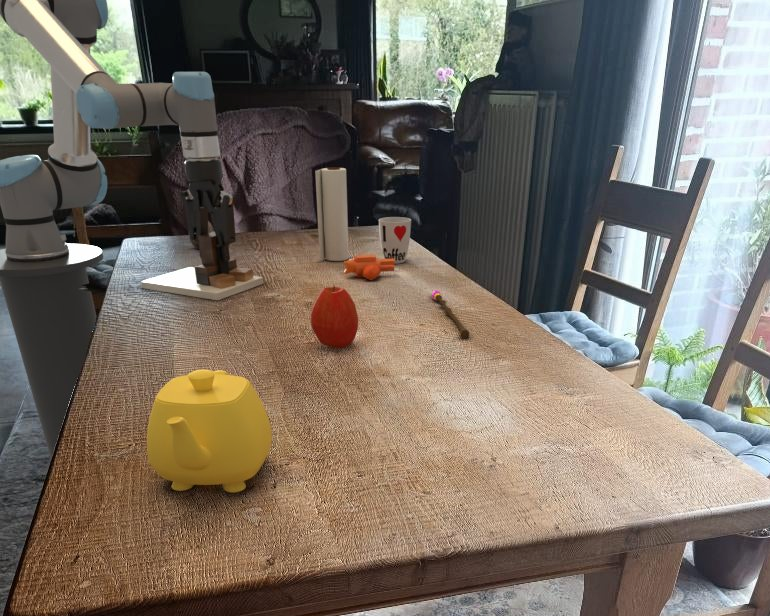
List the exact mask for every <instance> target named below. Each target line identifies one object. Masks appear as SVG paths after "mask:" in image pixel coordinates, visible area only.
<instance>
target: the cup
mask: <svg viewBox="0 0 770 616" xmlns="http://www.w3.org/2000/svg"><path fill="white" fill-rule="evenodd" d="M378 228H379V229H378V233H379V241H380V248H381V252H382V256H383V259H393V258H394V260H395V265H396V264H403V263H405V262H406V258H407V256H408V252H409V245H410V241H411V228H412V219H411V218H410V217H402V216H401V217H400V216H388V217H386V216H385V217H381V218H379V219H378Z"/></svg>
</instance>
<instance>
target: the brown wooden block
mask: <svg viewBox="0 0 770 616" xmlns="http://www.w3.org/2000/svg"><path fill="white" fill-rule="evenodd" d="M209 282H210V286H213V287H216V288H220V289H222V288H226V287H230V286H235V285H236V284H235V276H232V275H228V274H224V273H223V274H218V275H214V276H209Z"/></svg>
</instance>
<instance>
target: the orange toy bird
mask: <svg viewBox="0 0 770 616" xmlns="http://www.w3.org/2000/svg"><path fill="white" fill-rule="evenodd" d="M343 264H344V265H345V269H344V271H343V273H344V275H347V274H350V273H354V275H356V277H357V278H366V280H368V281H373V280H374V279H377V278H378V277H380V274H381V273H383V272H395V265H396V264H395V260H394V258H393V259H384V258H379V257H377V256H376V254H356V255H355V256H353V258H348V259H347V260H343Z"/></svg>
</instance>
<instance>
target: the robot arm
mask: <svg viewBox="0 0 770 616" xmlns="http://www.w3.org/2000/svg"><path fill="white" fill-rule="evenodd" d="M0 17H1V18H2V20H3V21H4V23H5V24H6V25H7V26H8V27H9V28H10V29H11V31H13V33H14V34H16V35H18V36H20V37H23V38H25V39H26V41H28V43H30V44H31V45H32V47H33V48H34V49H35V50H36V51H37V52H38V53H39V55H41V57H42V58H43V59H44V61H46V62H47V63H48V65H49V67H50V83H51V84H50V86H51V103H52V104H51V105H52V126H53V143H52V144H50V146H48V149H47V157H48V158H47V159H46V160H45V159H43V160H42V159H41V157H40V156H39V155H37V154H25V155H17V156H12V157H7V158H4V159H0V208H1V212H2V216H3V220H4V224H5V248H4V249H5V253H6V256H7V259H8V260H10V261H14V262H40V261H48V260H54V259H59V258H62V257H65V256H67V255H69V254H70V252H69V248H68V245H67V242H66V241H67V236H66V233H63V234H62V233H61V231H60V229H59V227H58V225H57V224H56V221H55V217H54V212H53V211H58V210H65V209H66V210H67V209H74V208H81V207H82V208H88V207H90V206H94V205H98V204H99V203H102V202H103V200H104V199H105V197H106V194H107V191H108V176H107V175H106V169H105V167H104V165H103V163H102V161H100V160H99V158H98V156H97V153H96V152H95V151H94V150H93V149H92V129H104V130H112V129H120V128H121V129H123V128H134V127H135V128H136V127H156V126H178V127H179V135H180V142H181V148H182V154H183V155H182V156H183V158H185V159H186V160H185V161H184V162H183V164H184V170H185V177H186V180H187V181H188V182H189V184H188V189H186V190H184V191H180V192H179V197H180V198H181V201H182V203H183V208H184V214H185V220H186V224H187V229H188V236H189V235H190V238H189V240H190V239H191V240H195V241H196V242H197V243H198V245H199V249H198V250H199V257H200V258H201V252H200V244H199V237H198V236H199V235H203V234H207V233H208V221H209V214H210V218H211V222H212V227H213V229H214V232H215V234H216V238H217V242H218V244H217V245H216V255H217V263H218V271H219V274H223V273H224V274H228V275H229V264H228V261H229V260H230V259H231V255H230V248H229V247H230V244H233V243H236V242H237V241H236V240H237V239H236V238H237V237H236V223H235V222H236V221H235V209H234V205H235V202H236V196H235V194H234V193H228V192H227V191H225V188H224V186H223V184H222V180H223V179H224V174H223V165H222V161H221V160H220V159H219V158H220V157H221V147H220V140H219V132H218V120H217V112H216V111H217V110H216V101H215V93H214V89H213V84H212V78H211V75H210V73H208V72H206V71H174V72H173V74H172V82H171V83H169V82H160V81H159V82H149V83H148V82H147V83H143V82H142V83H118V82H116V81H115V79H113V77H112V76H111V75H110V74H108V72H107V71H106V70H105V68H103V66H101V64H99V62H98V61H97V60H96V59H95V57H93V56H92V55H91V47H93V46H94V45H96V44H97V43H98V42H97V41H98V30H102V29H104V28H105V27H106V26H107V24H108V21H109V6H108V2H107V0H0Z"/></svg>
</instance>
